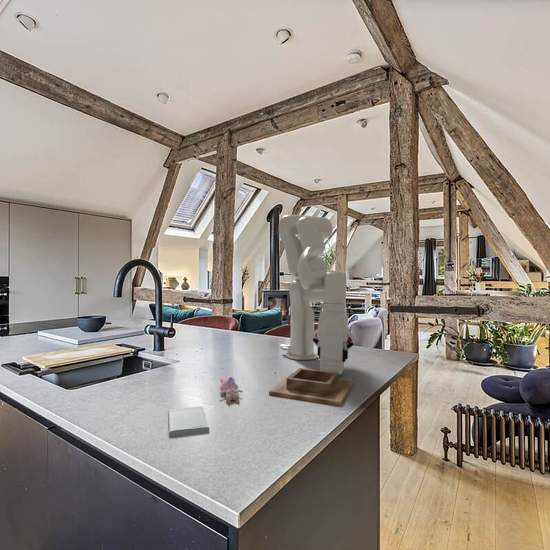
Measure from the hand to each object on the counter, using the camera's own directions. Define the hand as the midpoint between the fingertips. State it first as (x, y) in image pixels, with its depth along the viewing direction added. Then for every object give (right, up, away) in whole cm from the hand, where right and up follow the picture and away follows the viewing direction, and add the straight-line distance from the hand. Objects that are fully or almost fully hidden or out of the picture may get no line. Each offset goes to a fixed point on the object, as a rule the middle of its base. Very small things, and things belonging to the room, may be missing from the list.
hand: (332, 359), depth 122 cm
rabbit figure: (-32, -5, -23) cm, 40 cm away
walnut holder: (-8, -5, -17) cm, 19 cm away
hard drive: (-39, -5, -41) cm, 57 cm away
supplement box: (0, -4, 0) cm, 4 cm away
